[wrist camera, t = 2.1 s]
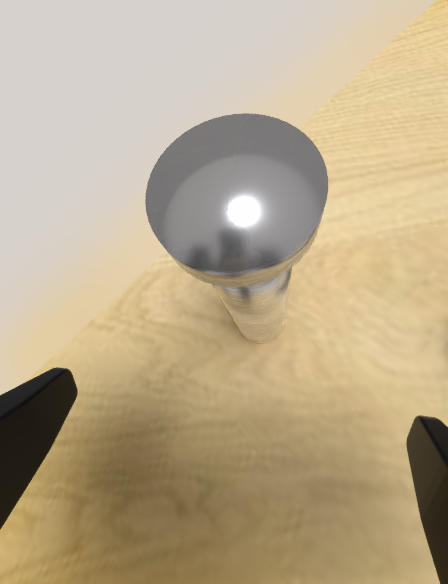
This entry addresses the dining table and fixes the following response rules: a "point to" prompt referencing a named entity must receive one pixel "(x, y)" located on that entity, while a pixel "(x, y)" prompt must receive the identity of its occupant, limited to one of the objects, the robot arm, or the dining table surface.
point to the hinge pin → (240, 211)
